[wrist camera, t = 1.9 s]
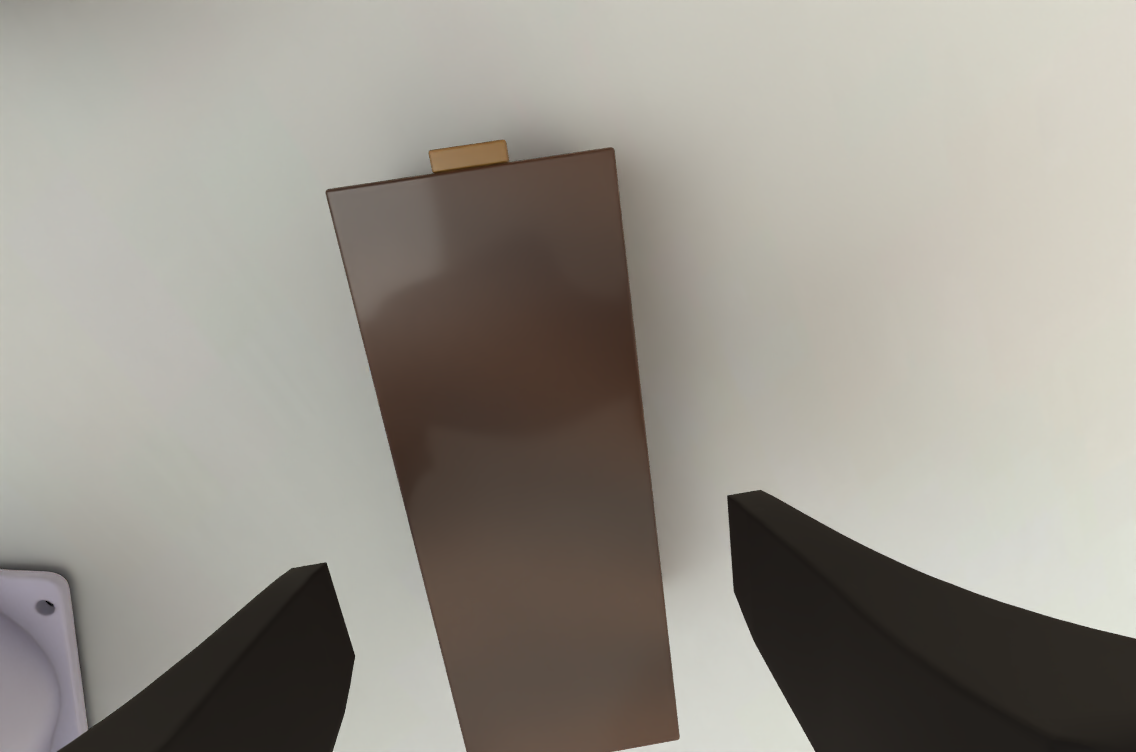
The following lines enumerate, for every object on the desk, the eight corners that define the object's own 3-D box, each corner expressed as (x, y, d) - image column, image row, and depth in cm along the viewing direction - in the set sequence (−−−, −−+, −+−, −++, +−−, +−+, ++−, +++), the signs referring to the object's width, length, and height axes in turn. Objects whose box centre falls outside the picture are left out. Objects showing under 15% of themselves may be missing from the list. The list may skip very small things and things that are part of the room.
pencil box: (639, 599, 21) (680, 740, 16) (482, 625, 21) (472, 778, 16) (580, 138, 16) (611, 122, 11) (380, 168, 16) (317, 166, 11)
